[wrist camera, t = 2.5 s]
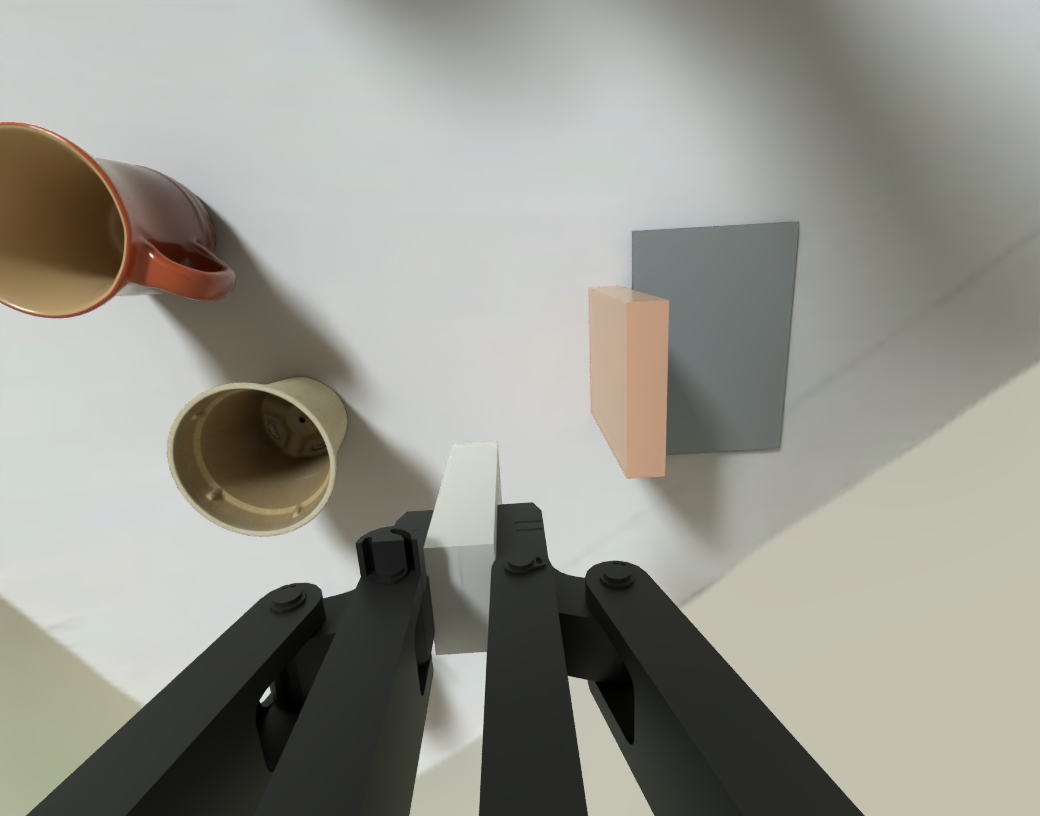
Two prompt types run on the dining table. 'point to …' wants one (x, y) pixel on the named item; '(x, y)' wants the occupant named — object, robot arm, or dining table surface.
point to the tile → (630, 376)
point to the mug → (96, 230)
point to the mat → (722, 329)
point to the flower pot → (258, 454)
